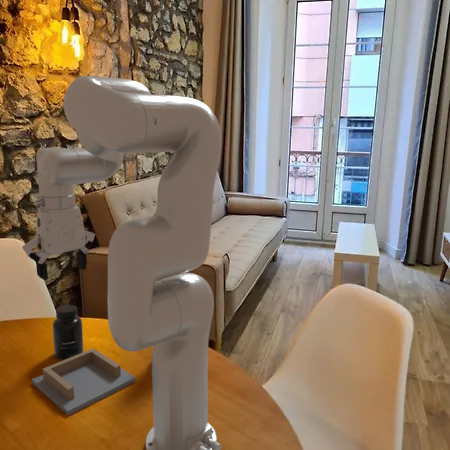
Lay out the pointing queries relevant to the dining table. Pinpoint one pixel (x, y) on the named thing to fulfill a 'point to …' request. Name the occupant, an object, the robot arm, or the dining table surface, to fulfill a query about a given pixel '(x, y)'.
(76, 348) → the supplement bottle
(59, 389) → the bottle stand
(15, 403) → the dining table surface
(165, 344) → the robot arm
